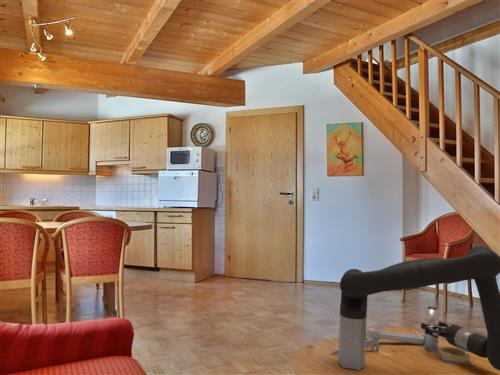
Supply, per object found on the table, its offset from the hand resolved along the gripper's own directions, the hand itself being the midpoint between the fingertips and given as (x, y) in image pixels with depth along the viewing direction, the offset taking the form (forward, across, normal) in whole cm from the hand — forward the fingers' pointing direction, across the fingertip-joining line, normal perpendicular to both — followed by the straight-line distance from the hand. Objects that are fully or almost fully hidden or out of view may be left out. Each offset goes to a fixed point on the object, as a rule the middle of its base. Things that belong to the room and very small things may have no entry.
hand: (430, 324), depth 164 cm
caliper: (+4, +32, +10) cm, 34 cm away
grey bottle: (-1, 0, +10) cm, 10 cm away
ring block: (-11, -2, +10) cm, 15 cm away
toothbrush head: (+8, +11, +10) cm, 17 cm away
